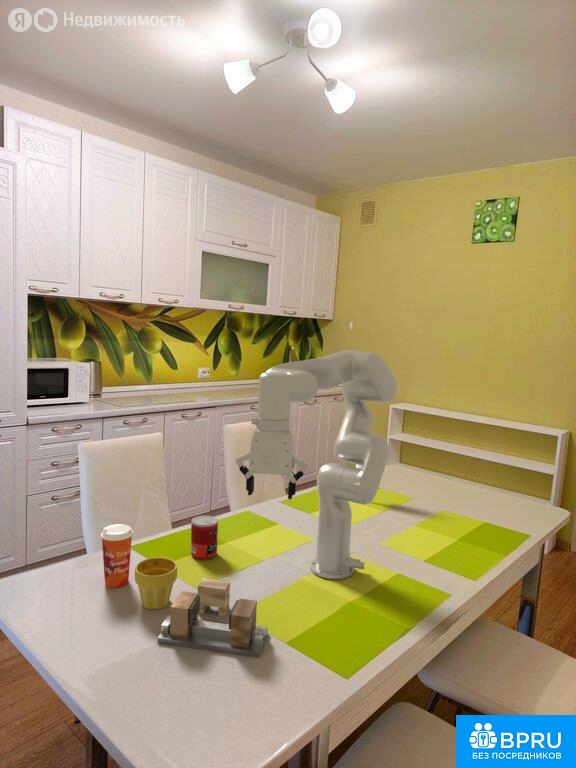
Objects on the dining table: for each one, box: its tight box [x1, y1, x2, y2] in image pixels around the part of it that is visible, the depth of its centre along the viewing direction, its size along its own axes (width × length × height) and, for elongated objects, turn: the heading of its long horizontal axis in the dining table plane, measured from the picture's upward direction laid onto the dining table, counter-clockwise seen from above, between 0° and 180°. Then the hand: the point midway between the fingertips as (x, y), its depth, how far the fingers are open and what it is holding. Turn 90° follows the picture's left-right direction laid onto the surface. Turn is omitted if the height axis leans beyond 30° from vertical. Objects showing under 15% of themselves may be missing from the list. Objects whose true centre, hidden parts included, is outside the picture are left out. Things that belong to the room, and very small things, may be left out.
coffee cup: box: [100, 523, 135, 589], centre depth 142 cm, size 8×8×15 cm
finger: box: [228, 598, 258, 648], centre depth 119 cm, size 5×7×7 cm, turn 170°
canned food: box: [190, 515, 219, 561], centre depth 161 cm, size 8×8×11 cm
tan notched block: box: [197, 577, 231, 617], centre depth 132 cm, size 5×7×7 cm, turn 81°
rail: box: [156, 591, 269, 658], centre depth 120 cm, size 23×9×8 cm, turn 81°
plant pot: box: [134, 556, 178, 610], centre depth 133 cm, size 10×10×10 cm
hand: (270, 495), depth 127 cm, fingers open, 9 cm apart
